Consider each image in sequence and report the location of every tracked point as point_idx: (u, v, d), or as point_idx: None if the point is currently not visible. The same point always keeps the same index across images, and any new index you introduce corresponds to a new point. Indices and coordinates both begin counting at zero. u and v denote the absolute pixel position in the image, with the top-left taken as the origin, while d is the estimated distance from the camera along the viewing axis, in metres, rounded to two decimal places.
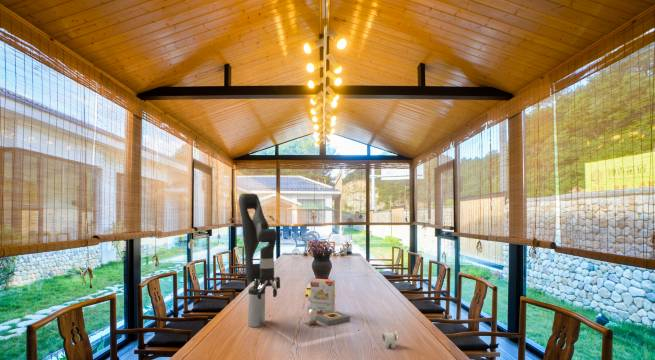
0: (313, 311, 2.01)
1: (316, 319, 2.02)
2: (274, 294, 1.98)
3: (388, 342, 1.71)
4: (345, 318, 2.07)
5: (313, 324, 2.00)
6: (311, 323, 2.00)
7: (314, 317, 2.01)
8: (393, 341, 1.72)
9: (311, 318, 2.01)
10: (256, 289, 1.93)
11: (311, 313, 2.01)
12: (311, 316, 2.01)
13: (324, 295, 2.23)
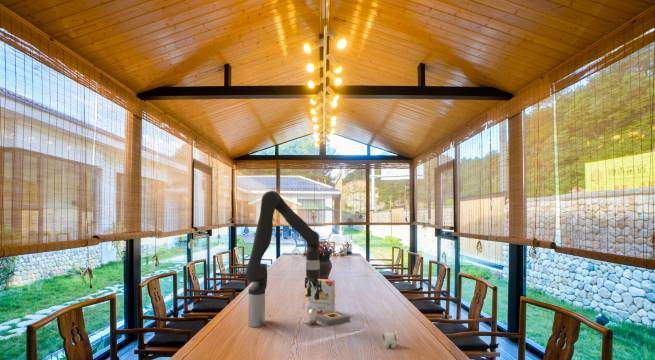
0: (313, 311, 2.01)
1: (316, 319, 2.02)
2: (310, 294, 2.07)
3: (388, 342, 1.71)
4: (345, 318, 2.07)
5: (313, 324, 2.00)
6: (311, 323, 2.00)
7: (314, 317, 2.01)
8: (393, 341, 1.72)
9: (311, 318, 2.01)
10: None
11: (311, 313, 2.01)
12: (311, 316, 2.01)
13: (324, 295, 2.23)
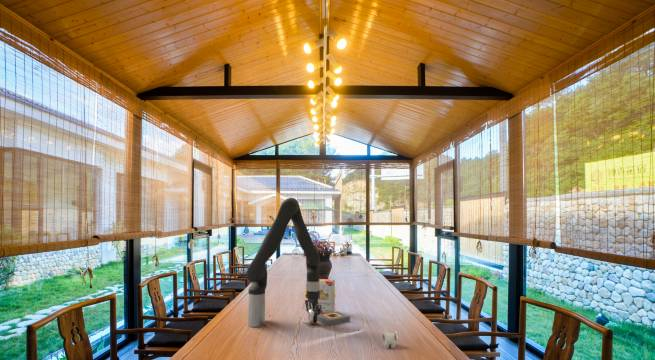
0: None
1: None
2: None
3: (388, 342, 1.71)
4: (345, 318, 2.07)
5: (313, 324, 2.00)
6: (311, 323, 2.00)
7: None
8: (393, 341, 1.72)
9: (311, 318, 2.01)
10: None
11: (311, 313, 2.01)
12: (311, 316, 2.01)
13: (324, 295, 2.23)
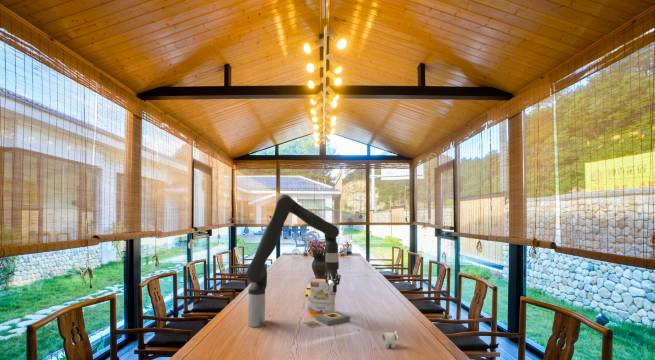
0: None
1: None
2: None
3: (388, 342, 1.71)
4: (345, 318, 2.07)
5: (333, 294, 2.07)
6: (331, 293, 2.08)
7: None
8: (393, 341, 1.72)
9: (331, 288, 2.08)
10: None
11: (331, 283, 2.08)
12: (331, 286, 2.08)
13: (324, 295, 2.23)
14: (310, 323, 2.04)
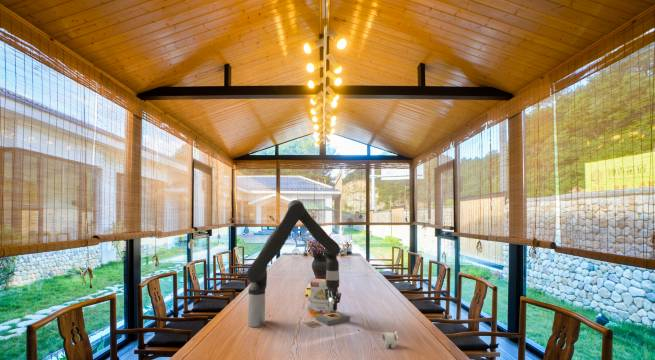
0: None
1: None
2: None
3: (388, 342, 1.71)
4: (345, 318, 2.07)
5: (333, 312, 2.08)
6: (331, 311, 2.08)
7: None
8: (393, 341, 1.72)
9: (331, 306, 2.08)
10: None
11: (331, 301, 2.08)
12: (331, 304, 2.08)
13: (324, 295, 2.23)
14: (310, 323, 2.04)
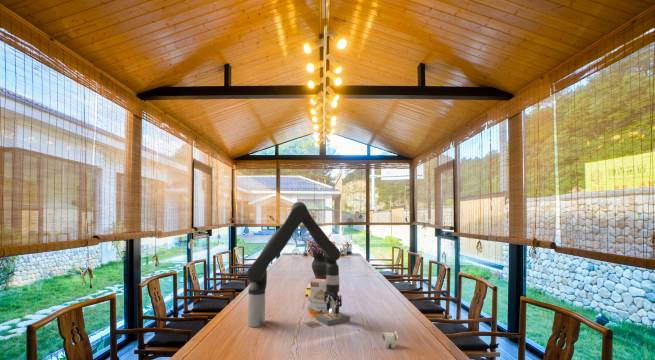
0: (333, 310, 2.08)
1: None
2: (329, 307, 2.13)
3: (388, 342, 1.71)
4: (345, 318, 2.07)
5: None
6: None
7: (334, 316, 2.08)
8: (393, 341, 1.72)
9: (331, 317, 2.07)
10: None
11: (331, 312, 2.08)
12: (331, 315, 2.08)
13: None
14: (310, 323, 2.04)
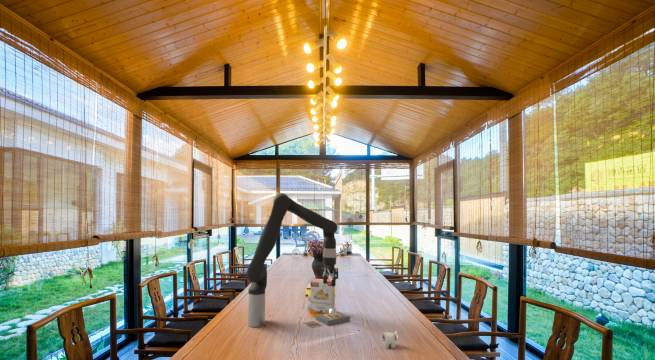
0: (333, 310, 2.08)
1: None
2: (326, 281, 2.15)
3: (388, 342, 1.71)
4: (345, 318, 2.07)
5: None
6: None
7: (334, 316, 2.08)
8: (393, 341, 1.72)
9: (331, 317, 2.07)
10: None
11: (331, 312, 2.08)
12: (331, 315, 2.08)
13: (324, 295, 2.23)
14: (310, 323, 2.04)
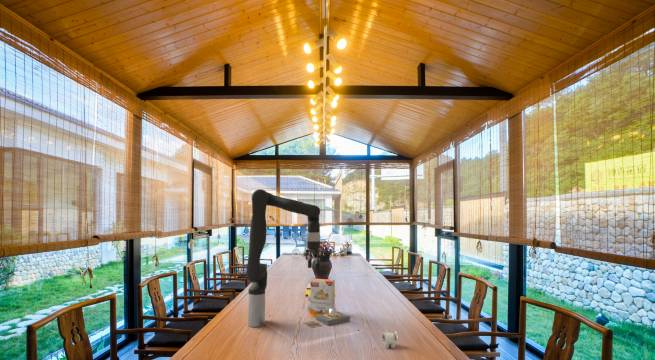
0: (333, 310, 2.08)
1: None
2: (311, 265, 2.15)
3: (388, 342, 1.71)
4: (345, 318, 2.07)
5: None
6: None
7: (334, 316, 2.08)
8: (393, 341, 1.72)
9: (331, 317, 2.07)
10: None
11: (331, 312, 2.08)
12: (331, 315, 2.08)
13: (324, 295, 2.23)
14: (310, 323, 2.04)
